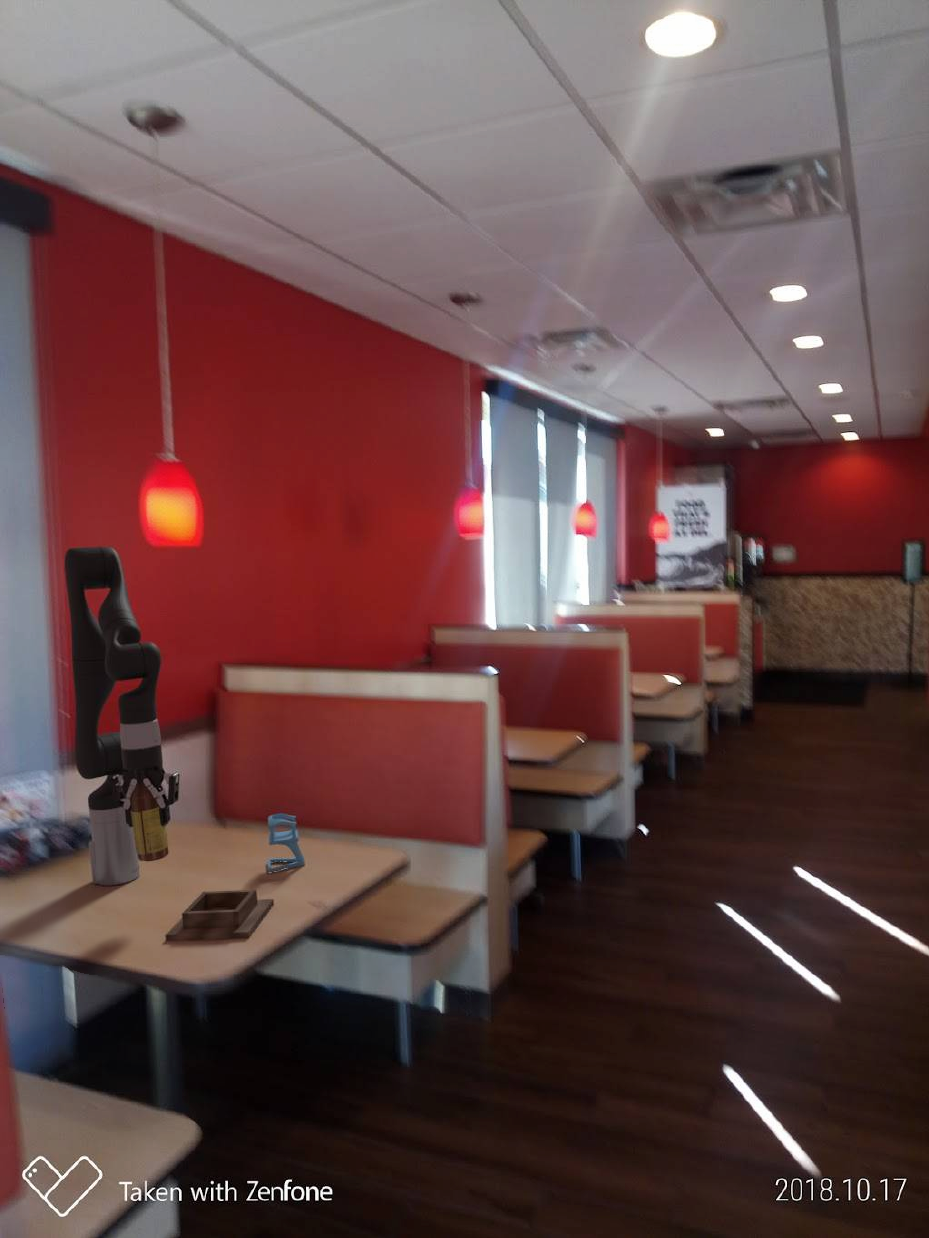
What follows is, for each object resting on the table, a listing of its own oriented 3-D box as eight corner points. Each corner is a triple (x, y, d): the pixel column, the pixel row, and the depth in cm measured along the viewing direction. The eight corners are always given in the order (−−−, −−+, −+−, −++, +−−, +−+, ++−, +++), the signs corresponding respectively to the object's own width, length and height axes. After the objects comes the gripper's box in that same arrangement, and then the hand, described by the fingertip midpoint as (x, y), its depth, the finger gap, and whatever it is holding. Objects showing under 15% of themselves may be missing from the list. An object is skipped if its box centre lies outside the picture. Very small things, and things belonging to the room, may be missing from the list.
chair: (305, 868, 210) (300, 816, 209) (267, 874, 209) (263, 821, 208) (304, 858, 218) (299, 807, 217) (267, 863, 216) (263, 812, 215)
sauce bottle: (174, 851, 191) (165, 756, 189) (161, 862, 185) (152, 763, 183) (143, 852, 192) (134, 757, 190) (129, 863, 185) (120, 765, 184)
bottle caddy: (166, 941, 176) (163, 919, 175) (197, 907, 191) (195, 887, 191) (248, 938, 174) (246, 916, 174) (274, 904, 190) (272, 884, 190)
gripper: (97, 749, 183) (105, 832, 185) (168, 746, 182) (175, 830, 183) (115, 740, 191) (123, 820, 192) (183, 737, 189) (190, 818, 191)
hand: (148, 825), depth 188 cm, fingers closed on sauce bottle, 6 cm apart
